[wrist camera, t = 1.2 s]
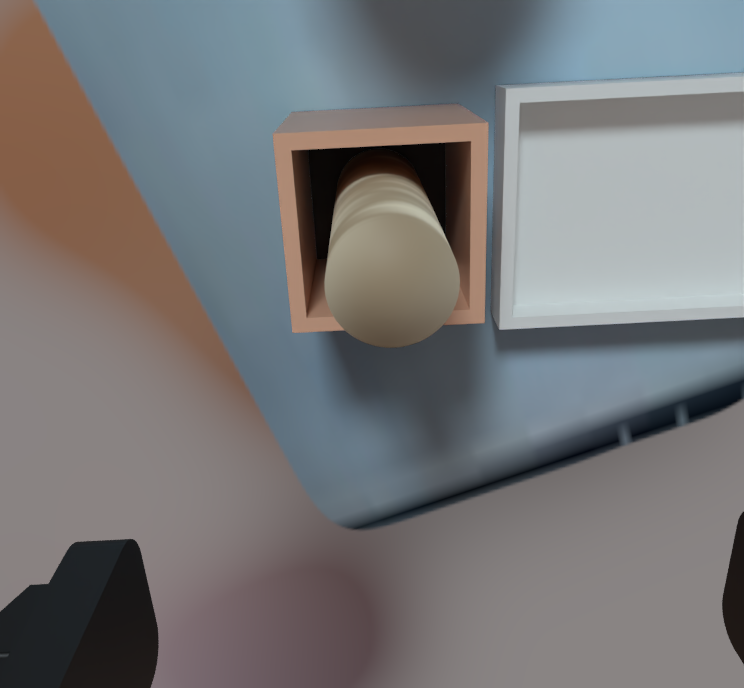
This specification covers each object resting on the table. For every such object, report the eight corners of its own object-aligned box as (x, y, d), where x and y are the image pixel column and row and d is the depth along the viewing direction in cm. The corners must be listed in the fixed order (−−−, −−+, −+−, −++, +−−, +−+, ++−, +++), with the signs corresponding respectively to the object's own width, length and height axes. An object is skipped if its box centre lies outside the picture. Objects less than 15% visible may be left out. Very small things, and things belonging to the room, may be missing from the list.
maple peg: (419, 146, 33) (460, 215, 20) (421, 229, 34) (459, 344, 21) (333, 150, 33) (319, 222, 20) (339, 234, 34) (329, 350, 21)
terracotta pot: (458, 103, 32) (488, 122, 25) (457, 263, 35) (484, 323, 28) (291, 112, 32) (272, 133, 25) (306, 271, 35) (292, 332, 28)
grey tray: (826, 68, 32) (861, 70, 29) (780, 297, 36) (808, 314, 34) (495, 85, 32) (505, 88, 29) (490, 312, 36) (499, 329, 34)
